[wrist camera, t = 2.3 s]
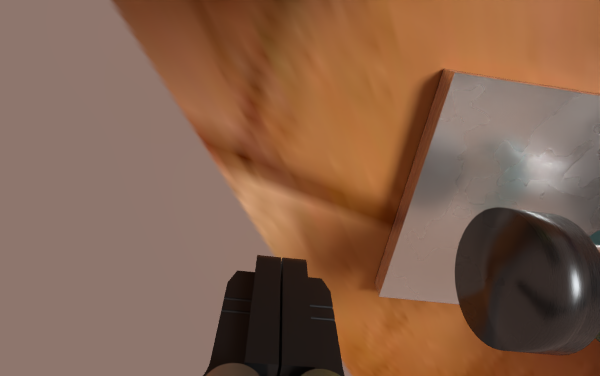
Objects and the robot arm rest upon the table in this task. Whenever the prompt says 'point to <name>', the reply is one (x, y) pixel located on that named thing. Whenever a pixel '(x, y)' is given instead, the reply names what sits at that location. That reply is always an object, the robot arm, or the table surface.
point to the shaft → (529, 281)
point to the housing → (489, 173)
